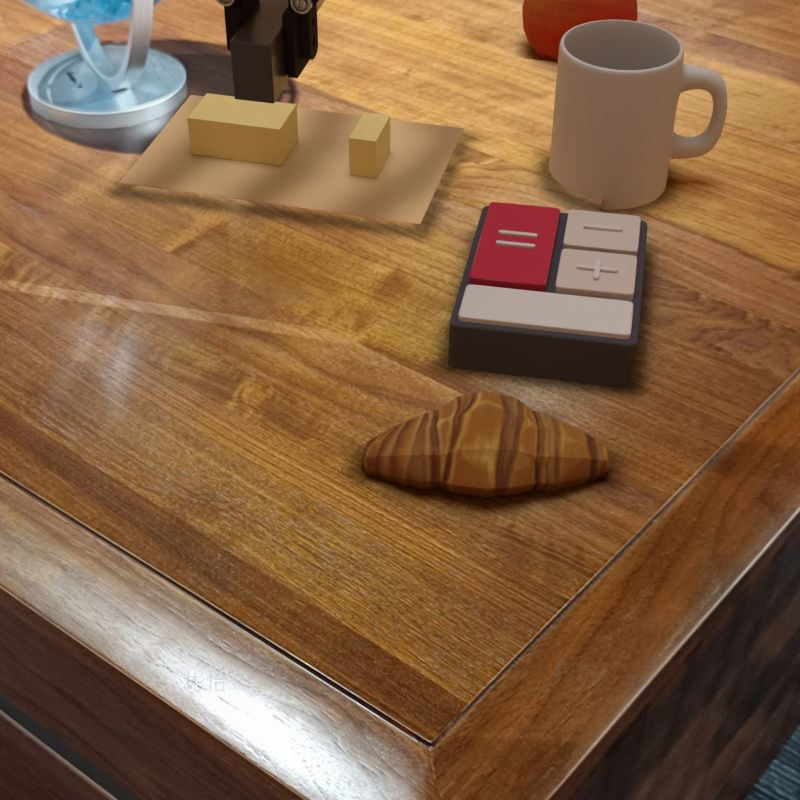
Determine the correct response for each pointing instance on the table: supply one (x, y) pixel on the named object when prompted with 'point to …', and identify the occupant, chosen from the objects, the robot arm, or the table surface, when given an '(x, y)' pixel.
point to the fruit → (567, 20)
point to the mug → (625, 111)
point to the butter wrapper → (308, 168)
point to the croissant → (486, 450)
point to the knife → (260, 53)
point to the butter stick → (243, 129)
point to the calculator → (551, 295)
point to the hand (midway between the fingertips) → (273, 62)
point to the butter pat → (369, 145)
